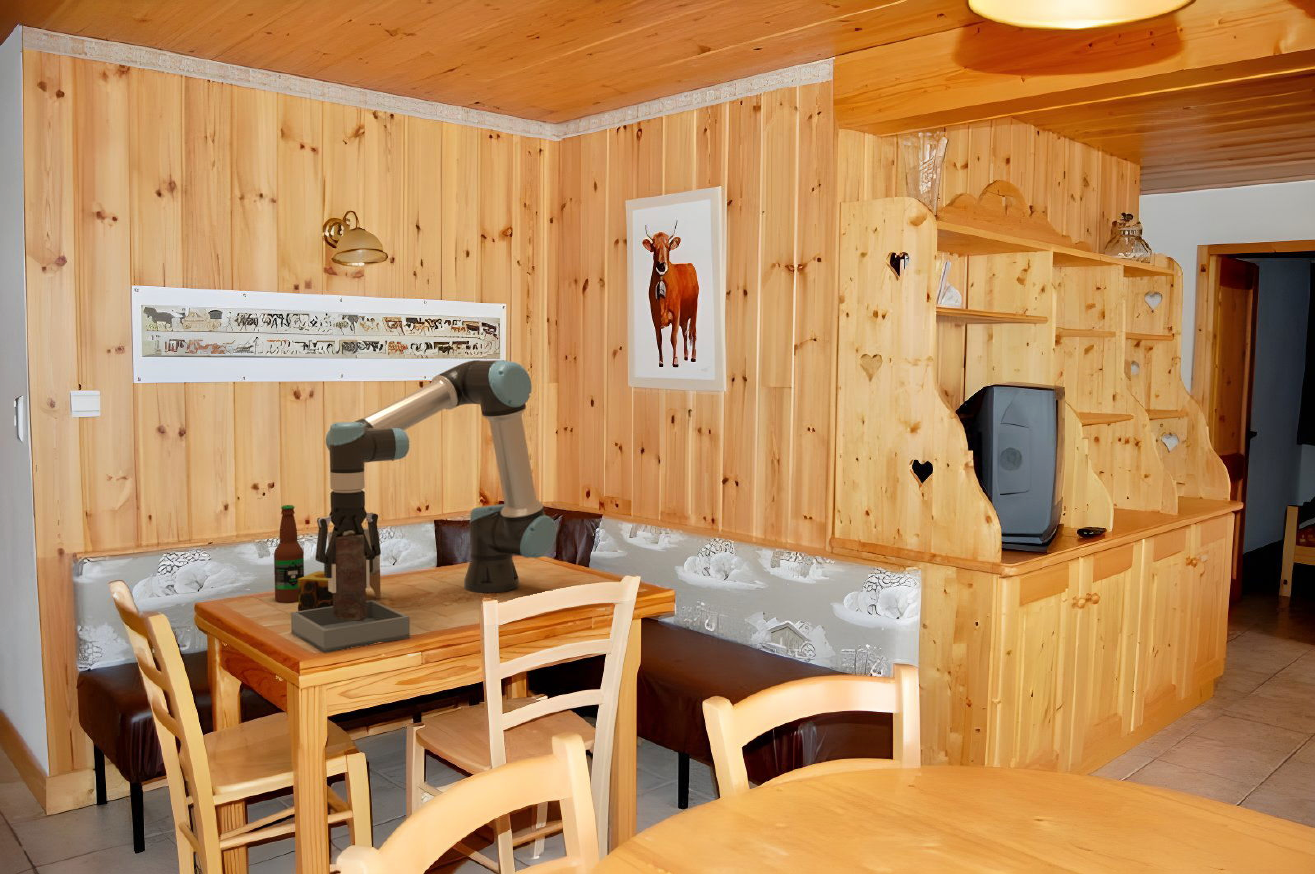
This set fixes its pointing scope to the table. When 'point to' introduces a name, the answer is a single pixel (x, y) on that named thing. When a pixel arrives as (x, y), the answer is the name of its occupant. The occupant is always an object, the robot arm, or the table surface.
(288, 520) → the bottle
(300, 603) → the candle
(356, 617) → the candle
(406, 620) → the bin
